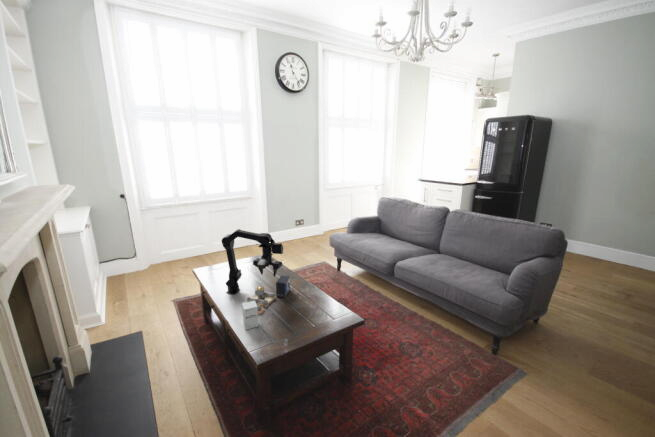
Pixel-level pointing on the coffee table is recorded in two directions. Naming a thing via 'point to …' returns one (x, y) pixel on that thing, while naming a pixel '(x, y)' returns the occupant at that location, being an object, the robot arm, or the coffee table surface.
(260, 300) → the cradle
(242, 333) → the coffee table surface
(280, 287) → the small box
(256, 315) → the supplement box
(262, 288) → the cell
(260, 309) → the dish
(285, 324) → the coffee table surface
